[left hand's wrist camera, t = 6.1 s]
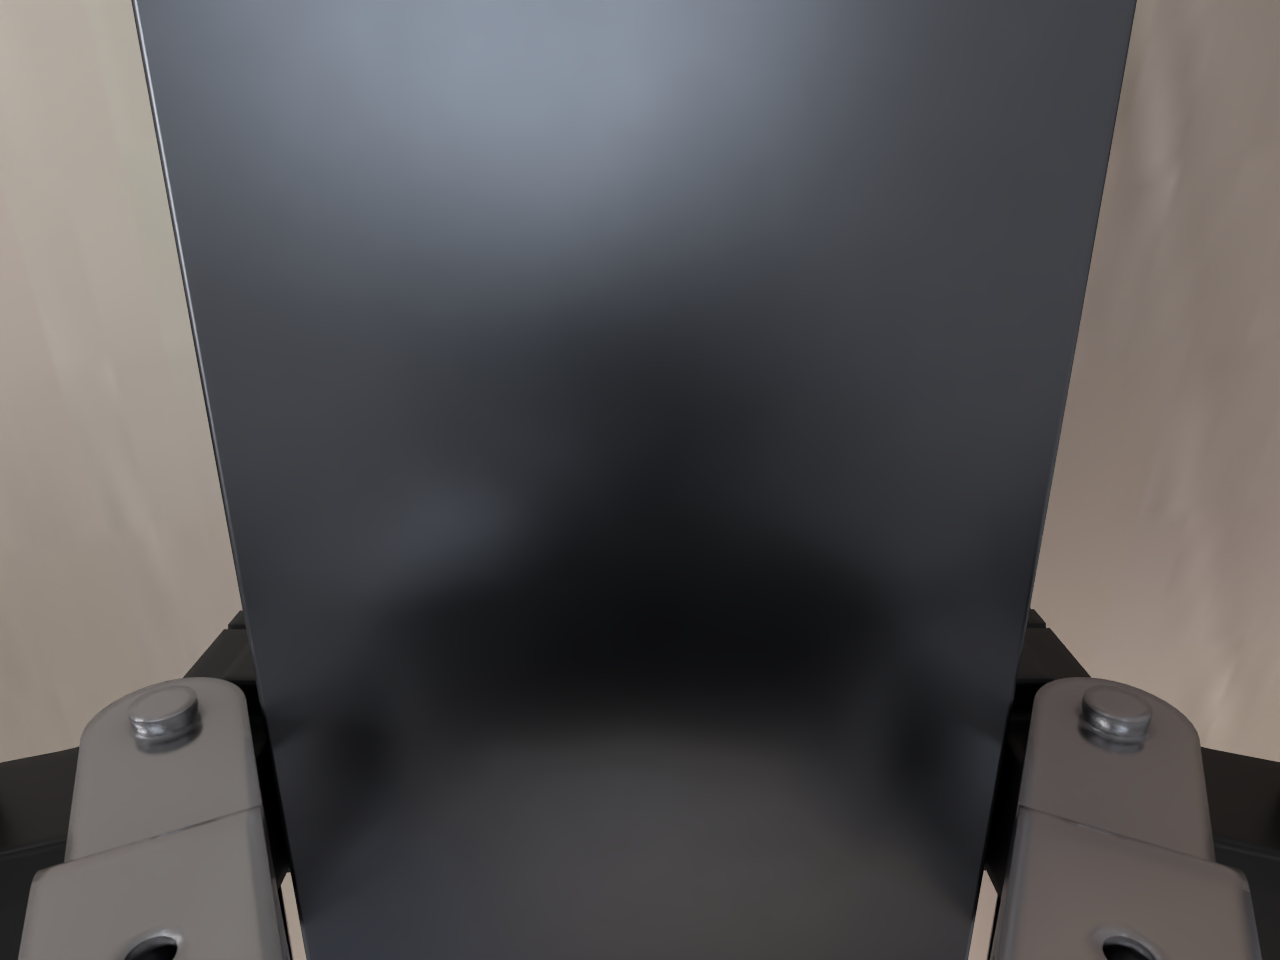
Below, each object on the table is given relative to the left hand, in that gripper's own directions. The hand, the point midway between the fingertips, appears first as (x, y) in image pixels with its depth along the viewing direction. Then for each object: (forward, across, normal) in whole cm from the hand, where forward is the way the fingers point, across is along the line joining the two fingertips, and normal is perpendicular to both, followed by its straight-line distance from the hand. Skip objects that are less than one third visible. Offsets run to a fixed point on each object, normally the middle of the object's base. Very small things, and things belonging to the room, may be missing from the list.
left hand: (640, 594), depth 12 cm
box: (+8, 0, +8) cm, 11 cm away
